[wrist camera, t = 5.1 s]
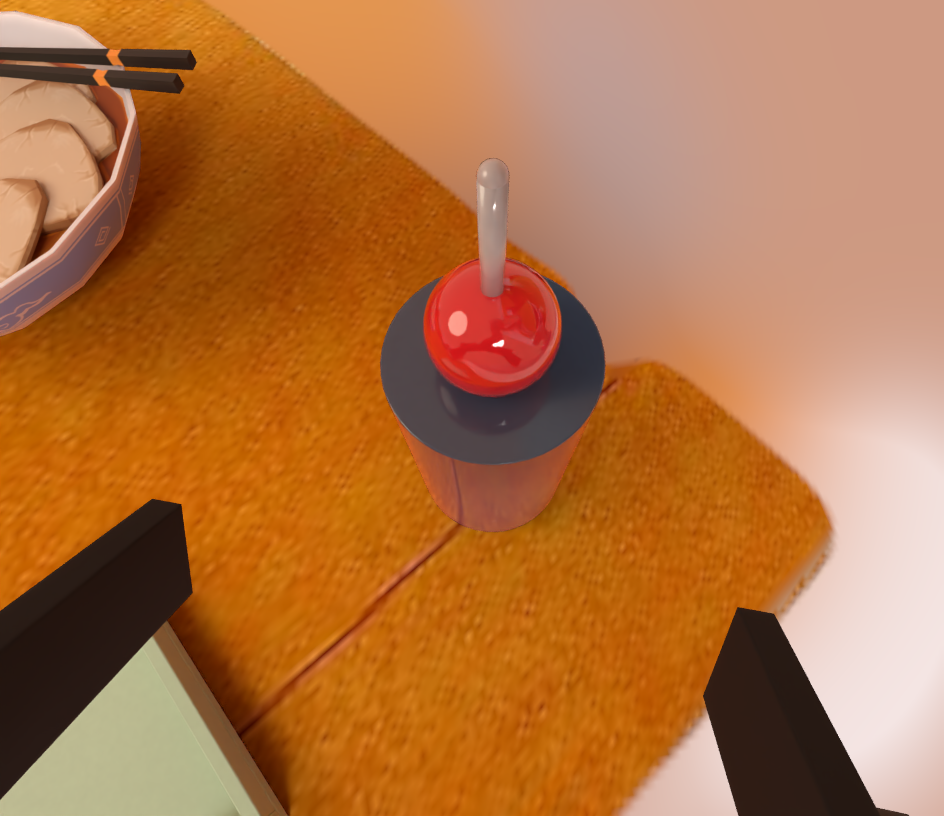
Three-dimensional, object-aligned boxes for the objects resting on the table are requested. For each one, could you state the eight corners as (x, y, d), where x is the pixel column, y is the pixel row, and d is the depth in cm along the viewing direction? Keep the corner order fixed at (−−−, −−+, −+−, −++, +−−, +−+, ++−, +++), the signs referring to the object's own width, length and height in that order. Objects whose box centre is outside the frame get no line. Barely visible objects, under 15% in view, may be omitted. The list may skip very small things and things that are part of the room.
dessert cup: (574, 518, 25) (751, 290, 8) (433, 543, 24) (308, 361, 8) (543, 390, 27) (627, 17, 11) (415, 411, 27) (294, 65, 10)
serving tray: (290, 818, 20) (272, 835, 19) (-36, 1144, 17) (-92, 1198, 16) (131, 562, 25) (106, 557, 23) (-156, 788, 21) (-211, 801, 20)
